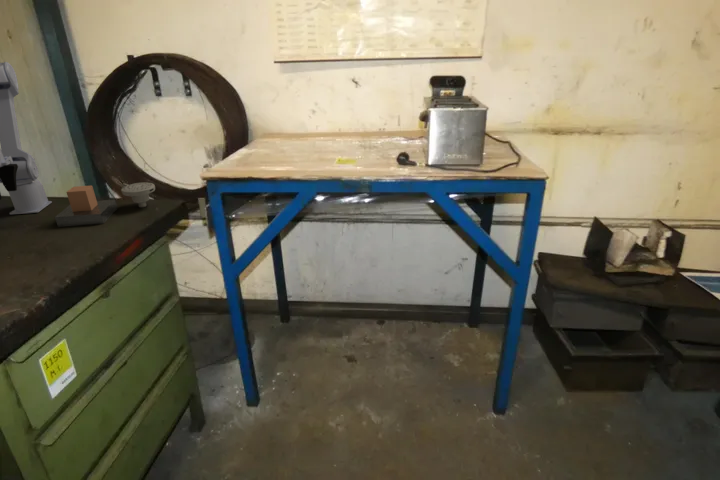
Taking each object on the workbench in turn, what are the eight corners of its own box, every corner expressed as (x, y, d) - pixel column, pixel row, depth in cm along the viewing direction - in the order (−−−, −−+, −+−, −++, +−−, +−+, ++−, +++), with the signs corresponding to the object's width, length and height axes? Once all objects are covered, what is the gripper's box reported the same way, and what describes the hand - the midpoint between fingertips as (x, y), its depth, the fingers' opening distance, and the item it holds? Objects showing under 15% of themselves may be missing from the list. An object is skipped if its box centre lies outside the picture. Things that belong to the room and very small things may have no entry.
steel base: (75, 211, 130) (72, 202, 129) (117, 208, 132) (114, 199, 131) (58, 226, 120) (54, 217, 118) (103, 223, 122) (100, 213, 120)
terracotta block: (79, 205, 126) (73, 186, 124) (97, 204, 127) (92, 185, 125) (72, 211, 122) (66, 192, 119) (91, 210, 123) (85, 190, 120)
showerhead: (132, 178, 136) (160, 180, 134) (138, 199, 139) (164, 201, 137) (111, 188, 128) (140, 189, 126) (117, 210, 131) (146, 212, 129)
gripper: (-15, 151, 105) (5, 203, 111) (17, 139, 118) (33, 186, 123) (-47, 153, 104) (-25, 205, 109) (-12, 140, 116) (7, 187, 122)
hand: (4, 195), depth 116 cm, fingers open, 7 cm apart
